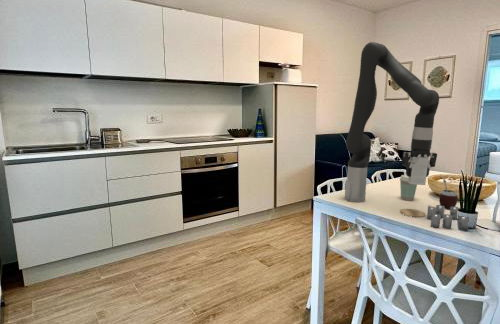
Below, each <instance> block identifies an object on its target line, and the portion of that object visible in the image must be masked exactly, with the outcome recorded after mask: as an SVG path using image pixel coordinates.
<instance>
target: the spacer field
mask: <svg viewBox="0 0 500 324" xmlns="http://www.w3.org/2000/svg"><path fill="white" fill-rule="evenodd" d="M444 207H445V206H443V205H440V204H437V205H435V206H430V205H429V206H427V212H426V214H427V215H426V219H427V220H429V221H430V228H432V227H433V229H440V226H441V228H442V227H443V229H444V230H445V229H446V230H451V229H452V224H453V221H458V226H457V230H459V231H462V232H468V230H469V228H468V222H469V217H468V216H467V217H464V216H459V215H458V217H459V219H458V220H457V209H460V206H459V207H458V206H457V205H456V206H451V208H449V209H450V210H449V214H447V213H446V214H445V208H444ZM441 219H442V222H441ZM477 222H478V217H477V218H476V221H475V223H474V226H473V229H472V230H475V229H477ZM441 223H442V225H441Z"/></svg>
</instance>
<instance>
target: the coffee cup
mask: <svg viewBox="0 0 500 324" xmlns="http://www.w3.org/2000/svg"><path fill="white" fill-rule="evenodd" d="M408 177H409V176H407V175H406V174H401V176H400V178H399V180H400V182H399V183H400V199H401V200H403V201H408V202H413V201H414V200H415V199H414V198H415V196H416V190H417V186H418V185H414V184H410V183H408Z"/></svg>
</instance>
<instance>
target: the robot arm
mask: <svg viewBox="0 0 500 324" xmlns="http://www.w3.org/2000/svg"><path fill="white" fill-rule="evenodd" d="M360 56H361V57H360V67H359V78H358V84H357V87H356V88H357V89H356V92H355V93H356V95H355V99H354V106H353V111H352V118H351V123H350V126H349V130H348V134H347V136H346V141H345V146H346V150H347V151H348V152H349V153H350V154H352V156H351V158H349V160H348V162H347V176H346V177H347V178H346V179H345V186H344V187H345V188H344V199H345V200H347V202H352V203H364V202H365V201H366V193H367V192H366V190H367V179H368V178H367V177H368V166H369V165H368V164H369V162H370V159H371V158H370V157H371V151H372V141H371V138H370V137H369V136H368V135H367V134H366V133H364V132H365V127H366V125H367V122H368V121H369V119H370V117H371V116H372V114H373V112H374V110H375V108H376V102H377V95H378V90H377V84H376V71H377V66H378V67H380V68H381V69H383V70H385V71H386V72H387V73H388V75H389V76H390V78H391V79H392V80H393V82H394V83H395V84H396V85H397V86H398V87H399V88H400V89H401V90H403V91H404V92H405V93H407V95H408V96H409V98H410V99H411V100H412V102H414V103H415V104H416V105H417V106H419V111H418V112H417V113H416V114H415V117H414V124H413V130H412V134H411V143H410V151H409V152H407V151H403V152H402V164H401V165H402V166H404V167H406V169H405V175H407V176H409V177H411V172H412V166H413V164H415V163H416V162H417V160H418V159H419V158H420V157H428V158H429V159H428V166H427V175H426V178H428V177H429V176H430V169H431V168H434V167H436V163H437V157H438V153H436V152H433V151H432V152H431V149H432V144H433V134H434V122H435V116H436V114H437V110H438V107H439V104H440V95H439V93H438V91H436V90H433V89H428V88H427V87H426V86H425V85H424V84H423V83H422V80H421V79H420V78H419V77H418V76H416V75H415V74H414V73H413V72H411V71H410V70H409V69H407V68H406V67H405V66H404V65H403V64H401V63H400V61H398V60H397V59H396V58H395V56H394V55H393V54H392V53H391V51H390V50H389V49H388V47H386V46H385V44H382V43H379V42H375V41H370V42H368V43H366V44H365V46H363V48H362V51H361V55H360ZM412 157H416V158H415V159H414V160H413V161H411V158H412ZM416 159H417V160H416Z"/></svg>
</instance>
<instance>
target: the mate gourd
mask: <svg viewBox="0 0 500 324" xmlns="http://www.w3.org/2000/svg"><path fill="white" fill-rule="evenodd" d="M439 176H440V177H441V178H442V181H443V182H444V187H445V189H443V190H441V191H440V194H439V205H443V206H445V207H444V209H446V210H447V211H448V210H449V209H451V206H456V207H457V203H458V194H457V192H456V191H455V190H450V189H448V187H447V182H446V179H445V177H444V176H443V175H442V174H439ZM449 211H450V210H449Z"/></svg>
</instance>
